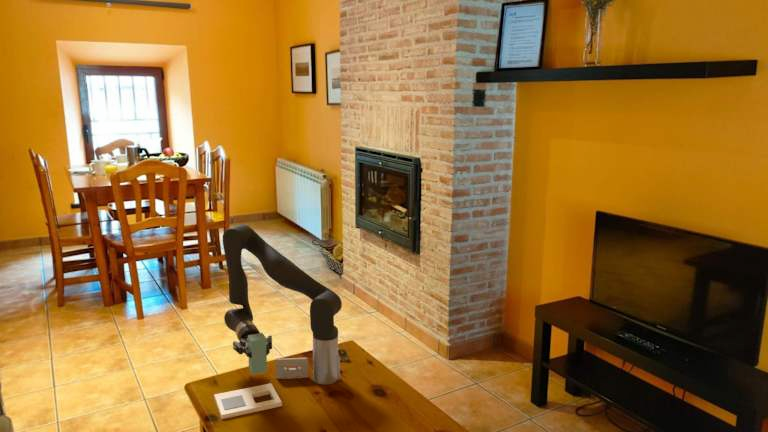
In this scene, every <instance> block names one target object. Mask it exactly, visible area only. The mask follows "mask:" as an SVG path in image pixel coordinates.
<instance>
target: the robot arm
mask: <svg viewBox="0 0 768 432" xmlns="http://www.w3.org/2000/svg"><path fill="white" fill-rule="evenodd" d="M222 246H223V250H224V251H223V252H224V256H225V262H226V269H227V275H228V301H229V302H230V304H232V305H237V306H238V305H239V306H242V307H240V308H239V307H238V308H230V309H228V310H227V311H226V312H225V314H224V317H223V320H224V323H225V326H226V327H227V328H228V329H229V330H231V331H233V332H234V333H235V334H236V338H237V340H238V341H233V342H232V350H234V351H235V352H236V353H237V354H238V355H243V354H245V356H246V357H247V358H248V359H249V358H252V352H251V350H250V348H249V346H248V335H253V334H259V333H261V332H260V330H259V329H258V327H257V325H256V324H255V323H254V322H253V321H254V315H253V311H252V309H251V306H250V300H249V282H248V277H247V274H246V272H245V270H244V267H243V264H242V251H243V250H246V251H248V252H249V253H251V254H252V255H253V256H254V257H255V258H257V260H258V261H259V262H260V265H261V267H262V268H263V271H264V272H265V273H266V274H267V276H268V277H269V278H271V280H274V281H275V282H276V283H277V284H278V285H279V286H281V287H283V288H286V289H288V290H290V291H294V292H298V293H300V294H303V295H304V296H306V297H308V298H309V299H310V300H311V303H310V306H309V322H310V329H311V331H312V379H313V381H314V383H316V384H318V385H332V384H334V383H336V382H337V381H340V379H341V369H340V368H341V362H340V356H339V355H338V349H339V328H338V327H337V326H336V325H335V321H334V317H335V316H336V315H337V314H338V313H339V312H340V311H341V309H342V307H343V306H342V305H343V303H342V300H341V298H340V296H339V295H338V294H337V293H336V292H335V291H333V290H332V289H330V288H328V287H327V286H326V285H324V284H323V283H320V282H319V281H318V280H316V279H314V278H313V277H312V276H311V275H310V274H308V273H307V272H305V271H304V270H303V269H301V268H300V267H298V266H297V265H296V264H295V263H294V262H292V261H291V260H290V259H288V257H286V256H285V255H283V254H282V253H281V252H279V251H278V250H277V249H275V247H273V246H272V245H270V244H269V243H268V242H267V241H266V240H265V239H263V238H262V237H261V236H260V234H258V233H257V232H256V231H255V230H254V229H253V228H252V227H250V226H248V225H247V224H244V223H243V224H236V225H234V226H231V227H229V228H227V229H225V230H224V232H223V235H222ZM265 338H266V355H267V356H269V354H270V353H271V352H270V350H272V349H273V336H272V335H268V337H267V336H266V337H265Z"/></svg>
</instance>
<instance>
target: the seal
mask: <svg viewBox="0 0 768 432" xmlns="http://www.w3.org/2000/svg"><path fill="white" fill-rule="evenodd" d="M338 355H339V356H340V363H341V362H344V361H345V362H346V361H349V355H348V350H347V349H345V348H338Z"/></svg>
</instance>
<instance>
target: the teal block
mask: <svg viewBox="0 0 768 432" xmlns="http://www.w3.org/2000/svg"><path fill="white" fill-rule="evenodd" d="M266 338H267V337H266V336H265V334H264V333H263V332H260V333H259V334H253V335H248V346H249V348H250V350H251V352H252V358H249V357H248V369H249V371H250V373H251V375H257V374H261V373H267V372H268V359H267V358H268V355H266Z"/></svg>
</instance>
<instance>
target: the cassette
mask: <svg viewBox="0 0 768 432" xmlns="http://www.w3.org/2000/svg"><path fill="white" fill-rule="evenodd" d="M275 378H276V380H277V379H279V380H280V379H281V380H283V379H285V380H287V379H289V380H290V379H303V378H309V358H308V357H289V358H287V357H286V358H276V359H275Z"/></svg>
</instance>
